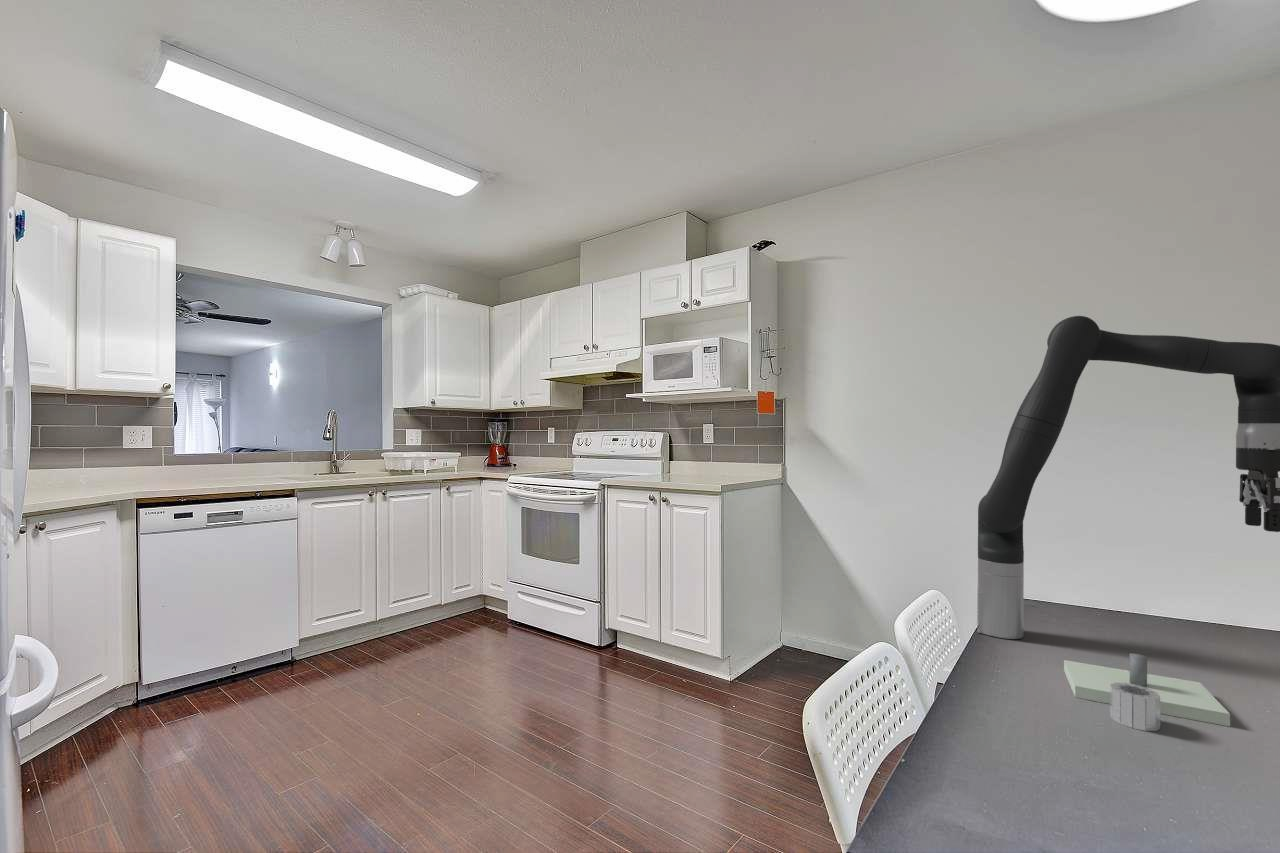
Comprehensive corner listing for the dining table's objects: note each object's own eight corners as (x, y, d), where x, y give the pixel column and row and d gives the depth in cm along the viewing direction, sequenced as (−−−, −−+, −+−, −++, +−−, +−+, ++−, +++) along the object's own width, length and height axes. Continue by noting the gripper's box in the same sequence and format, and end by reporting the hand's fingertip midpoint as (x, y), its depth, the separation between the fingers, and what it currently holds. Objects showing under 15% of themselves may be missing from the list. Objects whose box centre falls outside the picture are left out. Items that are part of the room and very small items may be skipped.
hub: (1115, 724, 93) (1115, 693, 93) (1107, 709, 98) (1107, 679, 99) (1164, 734, 90) (1164, 702, 90) (1153, 718, 96) (1153, 687, 96)
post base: (1075, 697, 103) (1075, 657, 103) (1064, 670, 115) (1064, 634, 115) (1230, 726, 93) (1230, 682, 93) (1199, 693, 105) (1199, 654, 106)
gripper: (1223, 445, 124) (1222, 522, 124) (1252, 446, 111) (1251, 531, 111) (1272, 446, 120) (1272, 525, 120) (1308, 447, 108) (1308, 535, 108)
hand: (1262, 528), depth 116 cm, fingers open, 8 cm apart
